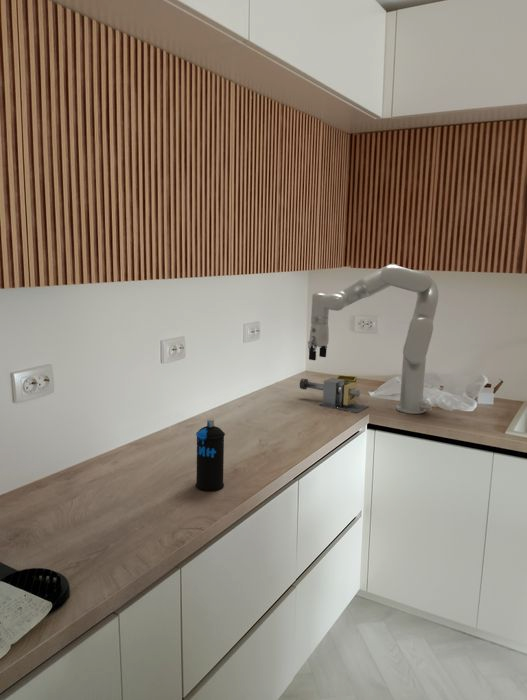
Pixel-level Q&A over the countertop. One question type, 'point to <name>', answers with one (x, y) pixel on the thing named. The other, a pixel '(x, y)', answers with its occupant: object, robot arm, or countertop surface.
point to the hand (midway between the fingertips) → (317, 358)
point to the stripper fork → (342, 396)
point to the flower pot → (347, 379)
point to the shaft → (305, 384)
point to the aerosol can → (210, 457)
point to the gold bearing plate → (347, 397)
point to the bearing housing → (331, 393)
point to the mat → (353, 407)
